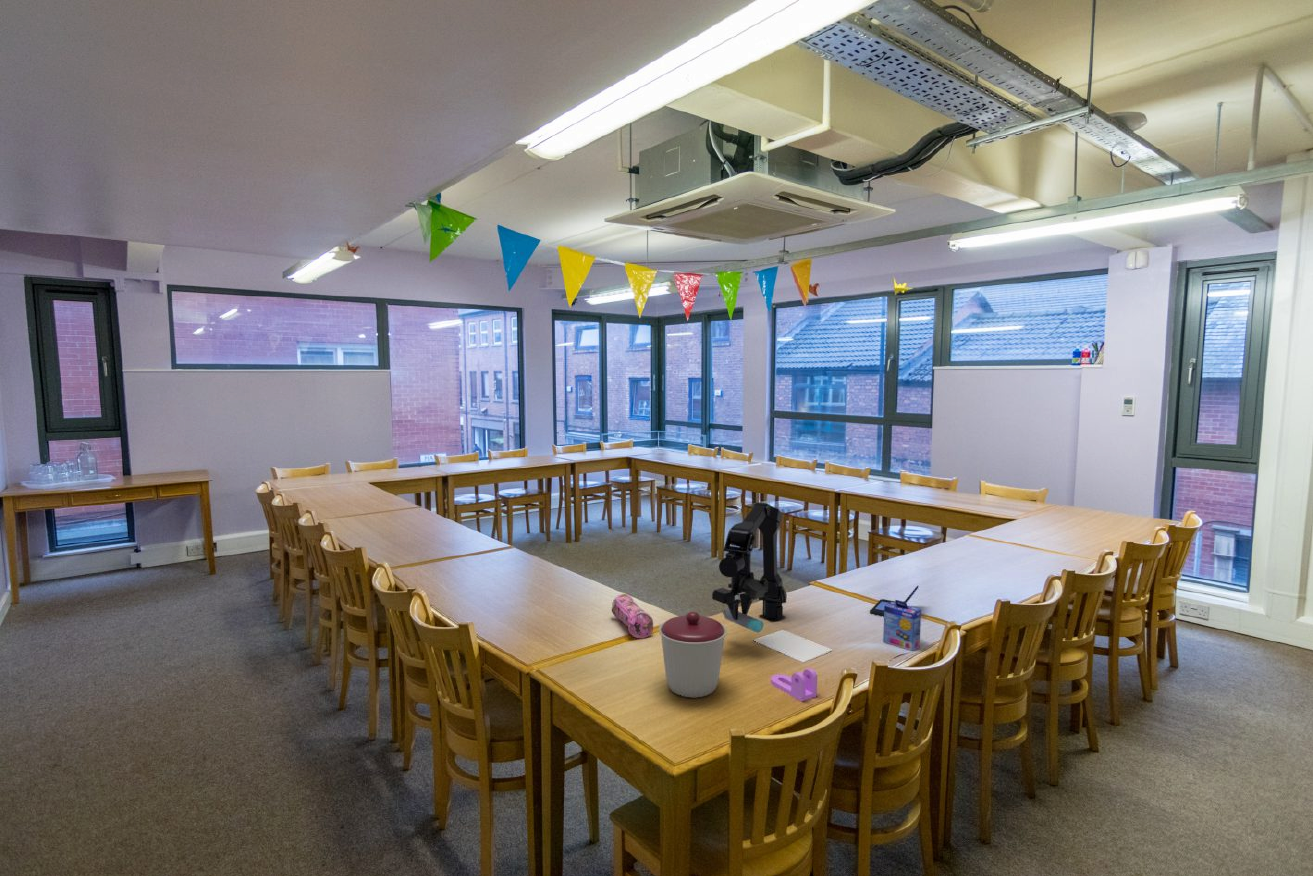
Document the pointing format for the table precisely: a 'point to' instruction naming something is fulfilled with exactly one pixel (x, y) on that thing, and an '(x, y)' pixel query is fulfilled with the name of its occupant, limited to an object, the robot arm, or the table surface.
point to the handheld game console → (879, 607)
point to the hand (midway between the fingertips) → (740, 618)
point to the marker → (744, 621)
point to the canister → (692, 653)
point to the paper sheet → (793, 646)
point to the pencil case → (632, 616)
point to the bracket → (797, 684)
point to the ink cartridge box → (902, 625)
